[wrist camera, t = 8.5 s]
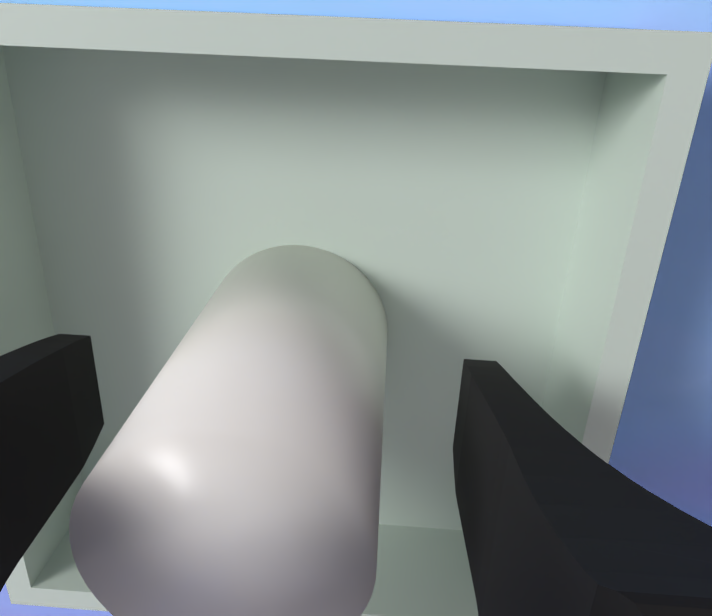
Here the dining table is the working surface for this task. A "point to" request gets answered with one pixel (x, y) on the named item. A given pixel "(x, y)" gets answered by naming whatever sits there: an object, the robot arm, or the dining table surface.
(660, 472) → the dining table surface
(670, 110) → the tote
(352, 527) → the white capsule cylinder
